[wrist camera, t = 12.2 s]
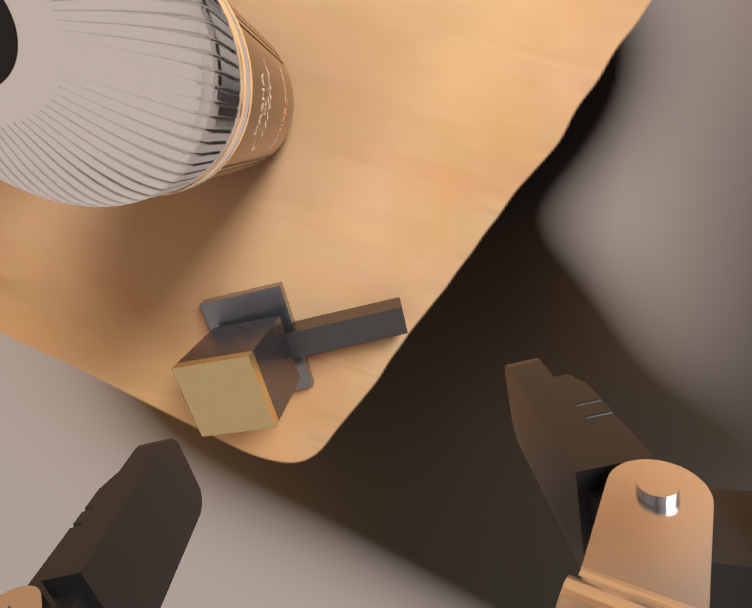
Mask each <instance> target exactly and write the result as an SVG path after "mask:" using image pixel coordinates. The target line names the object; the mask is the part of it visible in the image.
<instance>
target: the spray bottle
mask: <svg viewBox="0 0 752 608" xmlns="http://www.w3.org/2000/svg"><path fill="white" fill-rule="evenodd" d="M293 107H294V100H293V90H292V85H291V81H290V77H289V74H288V72H287V69H286V67H285V65H284V63H283V61H282V59H281V58H280V56H279V54H278V53H277V52H276V50H275V49H274V48H273V47H272V46H271V44H270V43H269V42H268V41H267V40H266V39H265V38H264V37H263V36H262V35H261V34H260V33H259V32H258V31H257V30H256V29H255V28H254V27H253V26H252V25H251V24H250V23H249V22H248V21H247V20H246V19H245V18H244V17H243V16H242V15H241V14H240V13H239V12H238V11H237V10H236V9H235V8H234V7H233V6H232V5H231V4H230V3H229V2H228V1H227V0H0V180H1V181H3V182H5V183H7V184H9V185H12V186H14V187H16V188H18V189H21V190H23V191H26V192H28V193H31V194H34V195H37V196H40V197H43V198H46V199H49V200H53V201H56V202H61V203H65V204H71V205H77V206H87V207H112V206H121V205H127V204H131V203H136V202H139V201H143V200H146V199H149V198H153V197H157V196H166V195H172V194H176V193H180V192H184V191H186V190H189V189H191V188H194V187H196V186H198V185H199V184H201V183H203V182H205V181H206V180H209V179H213V178H216V177H220V176H223V175H226V174H230V173H233V172H237V171H240V170H243V169H247V168H250V167H253V166H255V165H258V164H260V163H261V162H263V161H265V160H266V159H268V158H269V157H270V156H271V155H272V154H274V152H275V151H276V150H277V149H278V148H279V147H280V145H281V144H282V142H283V141H284V139H285V137H286V135H287V133H288V131H289V128H290V125H291V121H292V116H293Z"/></svg>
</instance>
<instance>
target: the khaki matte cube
mask: <svg viewBox="0 0 752 608" xmlns="http://www.w3.org/2000/svg"><path fill="white" fill-rule="evenodd" d="M172 371H173V373H174V375H175V378H176V380H177V382H178V384H179V387H180V389H181V391H182V393H183V395H184V398H185V400H186V402H187V404H188V406H189V409H190V411H191V413H192V415H193V418H194V420H195V422H196V424H197V426H198V429H199V431H200V433H201V435H202V437H204V436H212V435H220V434H228V433H236V432H244V431H252V430H260V429H268V428H275V427H276V425H277V423H278V421H279V419H280V417H281V415H282V413H283V412H284V410H285V408H286V406H287V404H288V402H289V400H290V398H291V396H292V394H293V392H294V390H295V388H296V386H297V384H298V382H299V380H300V375H299V372H298V369H297V366H296V363H295V360H294V357H293V354H292V351H291V348H290V345H289V342H288V339H287V336H286V333H285V331H284V328H283V325H282V322H281V319H280V316H277V317H271V318H266V319H260V320H254V321H249V322H243V323H237V324H232V325H226V326H220V327H215V328H213V329H212V330H211V331H210V332H209V333H208V334H207V335H206V336H205V337H204V338H203V339H202V340H201V341H200V342H199V343H198V344H197V345H196V346H195V347H193V348H192V349H191V350H190V351H189V352H188V353H187V354H186V355H185V356H184V357H183V358H182V359H181V360H180V361H179V362H178V363H177V364H176V365H175V366H174V367H173V368H172Z"/></svg>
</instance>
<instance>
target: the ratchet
mask: <svg viewBox="0 0 752 608" xmlns="http://www.w3.org/2000/svg"><path fill="white" fill-rule="evenodd" d="M200 306H201V309H202V311H203V314H204V316H205V319H206V321H207V324H208V326H209V328H210V331H211V330H212V329H213V328H215V327H220V326H226V325H232V324H237V323H243V322H249V321H254V320H260V319H266V318H271V317H277V316H280V319H281V322H282V325H283V328H284V331H285V333H286V336H287V339H288V342H289V345H290V348H291V351H292V354H293V357H294V360H295V363H296V366H297V369H298V372H299V375H300V380H299V382H298V384H297V386H296V388H295V390H294V391H296V390H301V389H305V388H310V387H313V384H314V379H313V376H312V373H311V370H310V367H309V364H308V361H307V358H306V356H309V355H313V354H317V353H322V352H326V351H331V350H335V349H339V348H344V347H348V346H353V345H357V344H361V343H366V342H370V341H375V340H379V339H383V338H388V337H392V336H397V335H401V334H405V333H408V332H407V328H406V324H405V319H404V315H403V311H402V306H401V302H400V298H394V299H390V300H386V301H381V302H377V303H373V304H369V305H364V306H360V307H356V308H351V309H347V310H343V311H338V312H334V313H330V314H325V315H321V316H317V317H312V318H308V319H304V320H300V321H294V318H293V315H292V312H291V309H290V306H289V303H288V300H287V297H286V294H285V291H284V288H283V284H282V282H279V283H275V284H271V285H266V286H262V287H258V288H254V289H249V290H245V291H241V292H237V293H233V294H228V295H224V296H220V297H216V298H212V299H207V300H204V301H203V302H202V303H201V304H200Z"/></svg>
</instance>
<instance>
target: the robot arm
mask: <svg viewBox="0 0 752 608" xmlns="http://www.w3.org/2000/svg"><path fill="white" fill-rule="evenodd" d="M505 375H506V381H507V388H508V395H509V402H510V408H511V415H512V421H513V425H514V430H515V434H516V437H517V440H518V442H519V445H520V447H521V449H522V451H523V453H524V455H525V457H526V459H527V461H528V463H529V465H530V467H531V469H532V471H533V473H534V475H535V477H536V479H537V481H538V483H539V485H540V487H541V489H542V491H543V493H544V495H545V497H546V499H547V501H548V502H549V505H550V507H551V508H552V510H553V512H554V514H555V516H556V518H557V520H558V522H559V524H560V526H561V528H562V530H563V532H564V534H565V536H566V538H567V540H568V542H569V544H570V546H571V548H572V550H573V552H574V554H575V556H576V558H577V560H578V562H579V564H580V566H581V570H580V573H579V575H578V576H576V575H573V574H570V575H569V576H568V577H567V579H566V580H565V582H564V585H563V587H562V590H561V593H560V596H559V599H558V602H557V605H556V608H752V491H739V490H723V489H716V488H710V487H707V486H706V484H705V483H704V482H703V481H701V479H699V478H698V477H697V476H696V475H694V474H693V473H691V472H690V471H688V470H686V469H684V468H682V467H680V466H677V465H674V464H672V463H668V462H664V461H659V460H656V459H655V458H654V457H653V455H652V454H651V453H650V452H649V451H648V450H647V449H646V448H645V447H644V446H643V445H642V443H641V442H640V441H639V440H638V439H637V438H636V437H635V436H634V434H633V433H632V432H631V431H630V430H629V429H628V428H627V427H626V426H625V425H624V423H623V422H622V421H621V420H620V419H619V418H618V417H617V416H616V415H615V414H613V413H612V410H611V409H610V408H609V407H608V406H607V405H606V404H605V402H602V400H601V398H600V397H599V396H598V395H597V394H596V392H595V391H593V389H592V388H591V387H590V386H589V385H588V384H586V383H584V382H582V381H580V380H578V379H576V378H574V377H572V376H570V375H568V374H567V375H562V376H558V377H553V376H552V374H551V373H550V372H549V371H548V369H547V368H546V367H545V366H544V364H543V363H542V362H541V360H540V359H538V358H537V359H532V360H527V361H523V362H518V363H514V364H509V365H506V366H505ZM201 507H202V496H201V491H200V488H199V485H198V483H197V481H196V479H195V477H194V475H193V473H192V470H191V469H190V466H189V464H188V462H187V460H186V458H185V456H184V454H183V452H182V450H181V447H180V445H179V444H178V442H176V441H175V440H174V439H166V440H161V441H157V442H152V443H148V444H144V445H140V446H138V447H137V448H136V449H135V450H134V452H133V453H132V454H131V456H130V457H129V459H128V460H127V461H126V463H125V464H124V465H123V467H122V468H121V470H120V471H119V472H118V473H117V474H116V475H114V476H113V477H112V478H111V479H110V480H109V481H108V482H107V483H106V484H104V485H103V486H102V487H101V488H100V489H99V490H98V491H97V493H96V494H95V495H94V497H93V498H92V500H91V501H90V502H89V503H88V505H87V506H86V507H85V511H84V512H82V513H81V514H80V516H79V517H78V518H77V520H76V521H75V523H74V524H73V525H74V527H73V528H70V529H69V530H68V532H67V533H66V534H65V536H64V538H63V539H62V540H61V541H60V543H59V544H58V545H57V547H56V548H55V550H54V551H53V552H52V553H51V555H50V556H49V557H48V559H47V560H46V562H45V563H44V564H43V566H42V567H41V568H40V570H39V571H38V572H37V574H36V575H35V576H34V578H33V579H32V580H31V582H30V583H29V585H28V586H23V587H18V588H15V589H12V590H10V591H8V592H6V593H4V594H2V595H0V608H160V607H161V605H162V603H163V601H164V598H165V596H166V594H167V591H168V589H169V586H170V584H171V582H172V579H173V577H174V574H175V572H176V570H177V568H178V565H179V563H180V560H181V558H182V556H183V554H184V551H185V549H186V547H187V544H188V542H189V539H190V537H191V535H192V532H193V530H194V528H195V525H196V523H197V521H198V518H199V516H200V513H201Z"/></svg>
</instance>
